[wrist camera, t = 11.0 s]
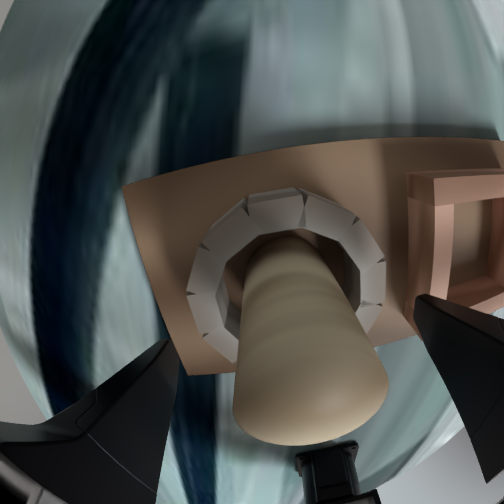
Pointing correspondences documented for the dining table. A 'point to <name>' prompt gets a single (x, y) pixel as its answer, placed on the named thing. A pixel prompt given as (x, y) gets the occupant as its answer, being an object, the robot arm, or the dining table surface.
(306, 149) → the socket board
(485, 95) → the dining table surface
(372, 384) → the round peg
